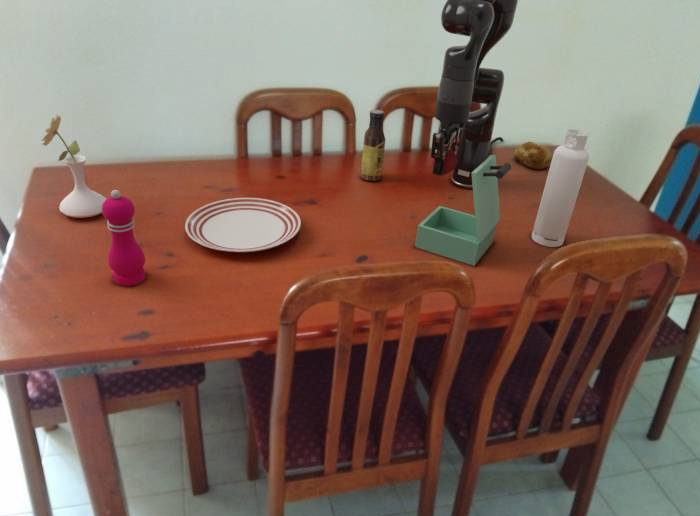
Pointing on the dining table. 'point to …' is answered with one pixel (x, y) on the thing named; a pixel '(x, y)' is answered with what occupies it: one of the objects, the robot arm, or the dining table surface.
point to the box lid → (487, 195)
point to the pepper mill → (123, 241)
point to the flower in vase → (81, 198)
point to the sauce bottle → (373, 148)
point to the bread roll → (533, 155)
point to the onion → (448, 161)
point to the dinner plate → (243, 225)
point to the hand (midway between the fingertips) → (442, 169)
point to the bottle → (561, 190)
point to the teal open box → (452, 236)
